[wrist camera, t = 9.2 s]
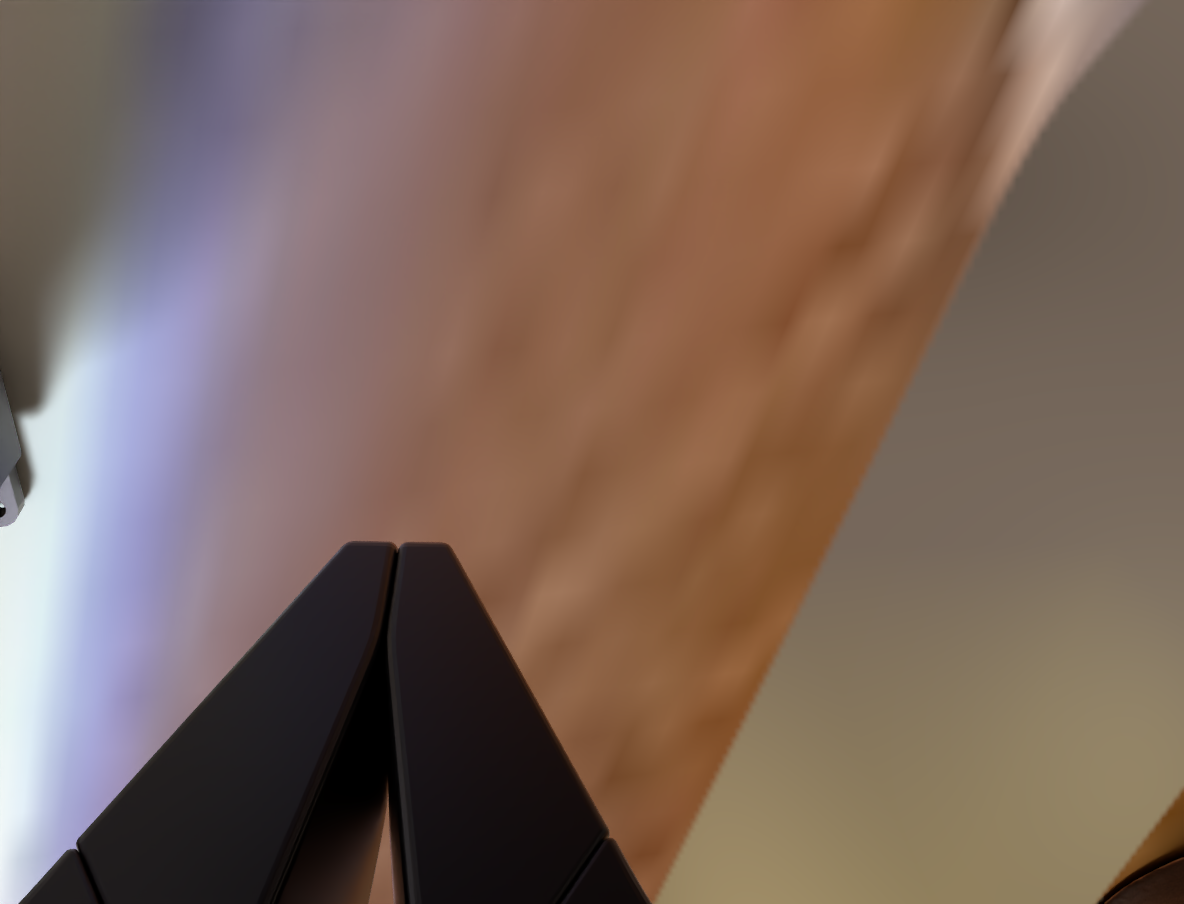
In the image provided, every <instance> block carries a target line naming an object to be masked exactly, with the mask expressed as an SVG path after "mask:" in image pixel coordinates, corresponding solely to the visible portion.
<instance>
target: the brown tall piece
mask: <svg viewBox="0 0 1184 904" xmlns="http://www.w3.org/2000/svg"><path fill="white" fill-rule="evenodd" d="M1104 904H1184V857H1183V858H1180V859H1177V860H1175V861H1172V862H1170V863H1168V864H1166V865H1164V866H1162V867H1160V868H1158V869H1156V870H1154V871H1152V872H1150V873H1148V874H1146V875H1144V876H1143V877H1141V878H1139V879H1137V880H1135V881H1134V882H1132V883H1131V884H1129V885H1127V886H1126V887H1124V888H1122V889H1121V890H1120V891H1119V892H1117V893H1116V894H1115V895H1113V896H1112V897H1111V898H1110V899H1109V900H1108V901H1106V902H1105V903H1104Z"/></svg>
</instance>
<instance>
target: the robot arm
mask: <svg viewBox="0 0 1184 904" xmlns="http://www.w3.org/2000/svg"><path fill="white" fill-rule="evenodd" d="M21 453H22V452H21V447H20V444H19V440H18V436H17V432H16V428H15V424H14V421H13V417H12V413H11V409H10V405H9V401H8V397H7V394H6V390H5V386H4V382H3V378H2V374H1V371H0V502H1V503H2V504H3V505H4V506H5V507H4V508H1V507H0V527H3V526H8V525H10V524H11V523H13V522H14V521H15V520H16V518H17V517H18V515H19V513H20V512H21V510H22V508H23V507H24V495H23V491H22V488H21V484H20V480H19V476H18V473H17V469H16V465H15V464H16V463H17V461H18V460H19V458H20V457H21ZM388 794H389V828H390V849H391V866H392V883H393V900H394V904H652V903H651V902H650V900H649V898H648V897H647V895H646V894H645V892H644V890H643V889H642V887H641V885H640V884H639V882H638V880H637V878H636V877H635V875H634V873H633V871H632V869H631V868H630V866H629V864H628V862H627V860H626V859H625V857H624V855H623V853H622V851H621V850H620V848H619V846H618V844H617V842H616V841H615V840H614V839H613V838H609V829H608V827H607V826H606V824H605V822H604V820H603V818H602V817H601V815H600V813H599V811H598V809H597V808H596V806H595V804H594V802H593V800H592V799H591V797H590V795H589V793H588V791H587V790H586V788H585V786H584V784H583V782H582V781H581V779H580V777H579V775H578V773H577V772H576V770H575V768H574V766H573V765H572V763H571V761H570V759H569V757H568V756H567V754H566V752H565V750H564V748H563V747H562V745H561V743H560V741H559V739H558V738H557V736H556V734H555V732H554V730H553V729H552V727H551V725H550V723H549V721H548V720H547V718H546V716H545V714H544V712H543V711H542V709H541V707H540V705H539V703H538V702H537V700H536V698H535V696H534V694H533V693H532V691H531V689H530V687H529V686H528V684H527V682H526V680H525V678H524V677H523V675H522V673H521V671H520V669H519V668H518V666H517V664H516V662H515V660H514V659H513V657H512V655H511V653H510V651H509V650H508V648H507V646H506V644H505V642H504V641H503V639H502V637H501V635H500V633H499V632H498V630H497V628H496V626H495V624H494V623H493V621H492V619H491V617H490V616H489V614H488V612H487V610H486V608H485V607H484V605H483V603H482V601H481V599H480V598H479V596H478V594H477V592H476V590H475V589H474V587H473V585H472V583H471V581H470V580H469V578H468V576H467V574H466V572H465V571H464V569H463V567H462V565H461V563H460V562H459V560H458V558H457V556H456V554H455V553H454V551H453V549H452V548H451V547H450V546H449V545H448V544H446V543H439V542H405V543H403V544H402V545H401V546H400V548H399V549H398V548H397V547H396V545H395V544H394V543H392V542H379V541H352V542H348V543H346V544H345V545H343V546H342V547H341V549H340V550H339V551H338V552H337V553H336V554H335V555H334V556H333V557H332V558H331V560H330V561H329V562H328V563H327V564H326V565H325V566H324V567H323V568H322V570H321V571H320V572H319V573H318V574H317V575H316V576H315V577H314V578H313V580H312V581H311V582H310V583H309V584H308V585H307V586H306V587H305V588H304V589H303V591H302V592H301V593H300V594H299V595H298V596H297V597H296V598H295V599H294V601H293V602H292V603H291V604H290V605H289V606H288V607H287V608H286V609H285V610H284V612H283V613H282V614H281V615H280V616H279V617H278V618H277V619H276V620H275V622H274V623H273V624H272V625H271V626H270V627H269V628H268V629H267V630H266V632H265V633H264V634H263V635H262V636H261V637H260V638H259V639H258V640H257V641H256V643H255V644H254V645H253V646H252V647H251V648H250V649H249V650H248V651H247V653H246V654H245V655H244V656H243V657H242V658H241V659H240V660H239V661H238V662H237V664H236V665H235V666H234V667H233V668H232V669H231V670H230V671H229V672H228V674H227V675H226V676H225V677H224V678H223V679H222V680H221V681H220V682H219V684H218V685H217V686H216V687H215V688H214V689H213V690H212V691H211V692H210V693H209V695H208V696H207V697H206V698H205V699H204V700H203V701H202V702H201V703H200V705H199V706H198V707H197V708H196V709H195V710H194V711H193V712H192V713H191V715H190V716H189V717H188V718H187V719H186V720H185V721H184V722H183V723H182V724H181V726H180V727H179V728H178V729H177V730H176V731H175V732H174V733H173V734H172V736H171V737H170V738H169V739H168V740H167V741H166V742H165V743H164V744H163V745H162V747H161V748H160V749H159V750H158V751H157V752H156V753H155V754H154V755H153V757H152V758H151V759H150V760H149V761H148V762H147V763H146V764H145V765H144V767H143V768H142V769H141V770H140V771H139V772H138V773H137V774H136V775H135V776H134V778H133V779H132V780H131V781H130V782H129V783H128V784H127V785H126V786H125V788H124V789H123V790H122V791H121V792H120V793H119V794H118V795H117V796H116V798H115V799H114V800H113V801H112V802H111V803H110V804H109V805H108V806H107V807H106V809H105V810H104V811H103V812H102V813H101V814H100V815H99V816H98V817H97V819H96V820H95V821H94V822H93V823H92V824H91V825H90V826H89V827H88V828H87V830H86V831H85V832H84V833H83V834H82V835H81V836H80V837H79V838H78V840H77V842H76V846H77V850H76V849H69V850H67V851H66V852H65V853H64V854H63V855H62V856H61V857H60V859H59V860H58V861H57V862H56V863H55V864H54V865H53V866H52V868H51V869H50V870H49V871H48V872H47V873H46V874H45V875H44V876H43V878H42V879H41V880H40V881H39V882H38V883H37V884H36V885H35V886H34V887H33V889H32V890H31V891H30V892H29V893H28V894H27V895H26V896H25V897H24V898H23V899H22V900H21V902H20V903H19V904H368V903H369V898H370V893H371V888H372V882H373V877H374V872H375V867H376V862H377V857H378V852H379V847H380V842H381V837H382V831H383V825H384V819H385V814H386V807H387V798H388Z"/></svg>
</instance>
